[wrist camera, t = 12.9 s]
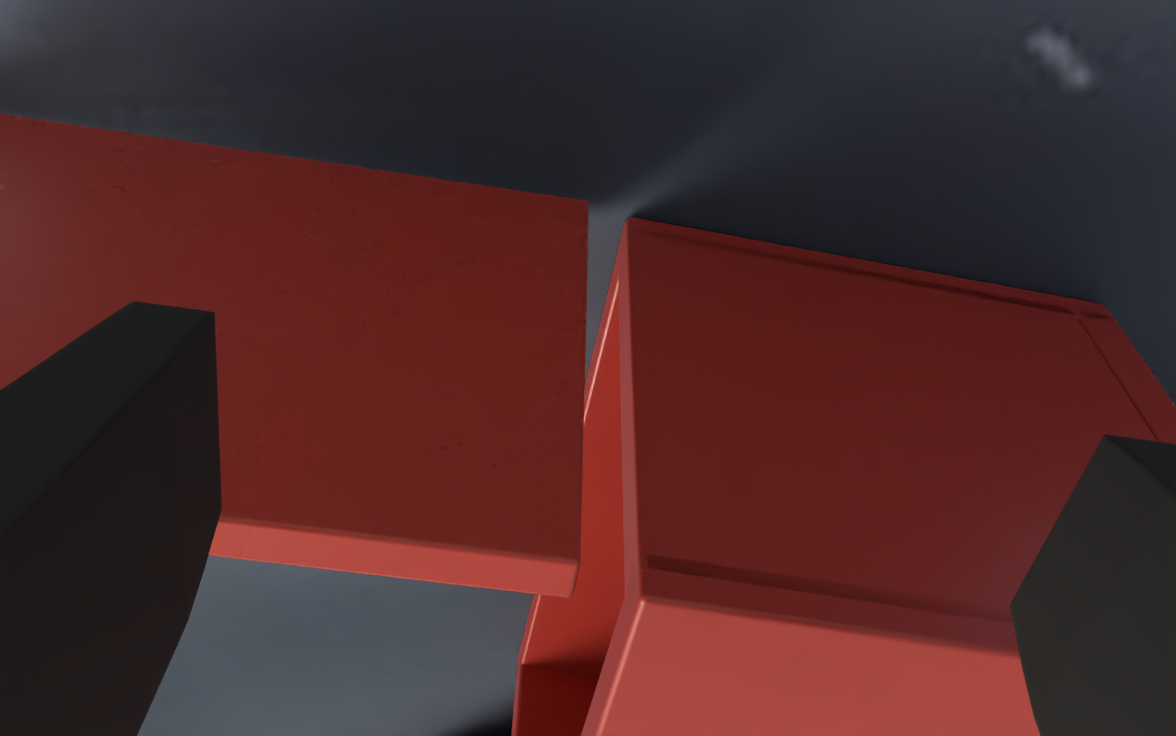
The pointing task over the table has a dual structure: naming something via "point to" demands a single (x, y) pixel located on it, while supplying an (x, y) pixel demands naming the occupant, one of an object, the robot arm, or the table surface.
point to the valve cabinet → (817, 493)
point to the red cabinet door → (331, 341)
